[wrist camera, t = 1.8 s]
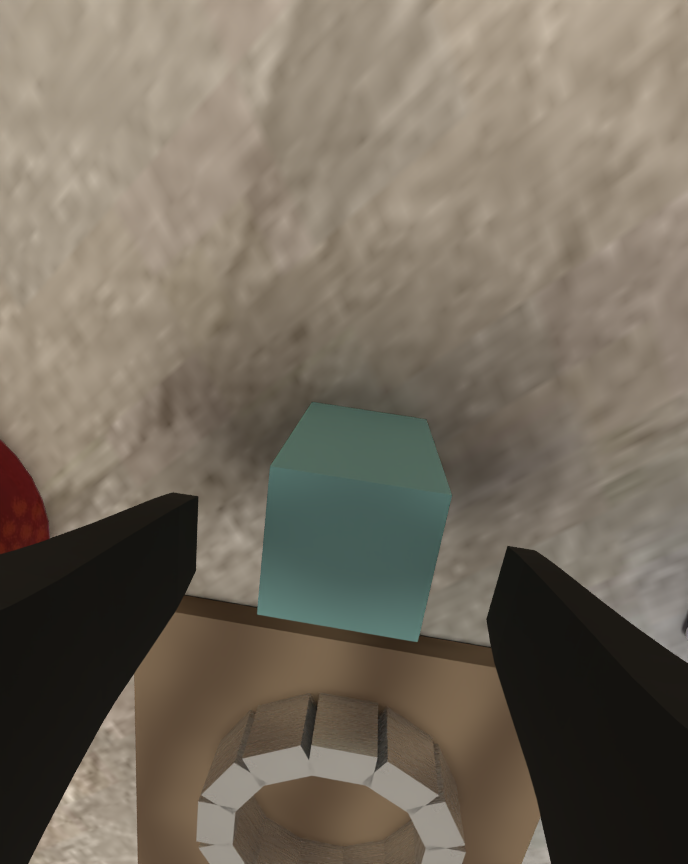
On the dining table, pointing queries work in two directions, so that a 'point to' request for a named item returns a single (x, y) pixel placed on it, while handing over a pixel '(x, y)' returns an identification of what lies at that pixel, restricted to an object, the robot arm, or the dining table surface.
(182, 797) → the walnut board
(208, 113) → the dining table surface
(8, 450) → the canned food
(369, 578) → the teal peg
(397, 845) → the steel collar
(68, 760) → the robot arm
